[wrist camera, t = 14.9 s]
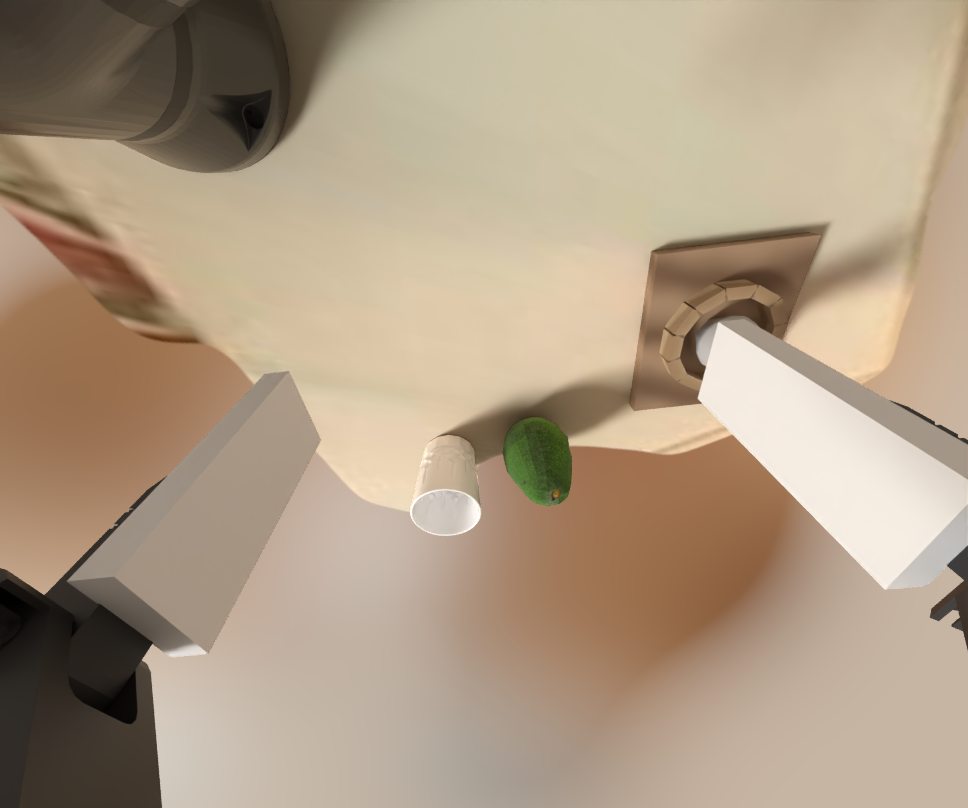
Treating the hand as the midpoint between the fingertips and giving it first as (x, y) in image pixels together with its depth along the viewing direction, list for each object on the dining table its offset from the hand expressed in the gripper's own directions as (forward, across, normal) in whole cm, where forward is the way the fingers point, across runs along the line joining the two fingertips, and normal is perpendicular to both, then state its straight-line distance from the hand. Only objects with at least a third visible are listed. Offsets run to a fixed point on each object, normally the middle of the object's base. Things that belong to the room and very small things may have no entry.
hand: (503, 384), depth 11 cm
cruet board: (+27, +24, -12) cm, 38 cm away
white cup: (+27, -7, -26) cm, 38 cm away
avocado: (+27, +4, -23) cm, 36 cm away
